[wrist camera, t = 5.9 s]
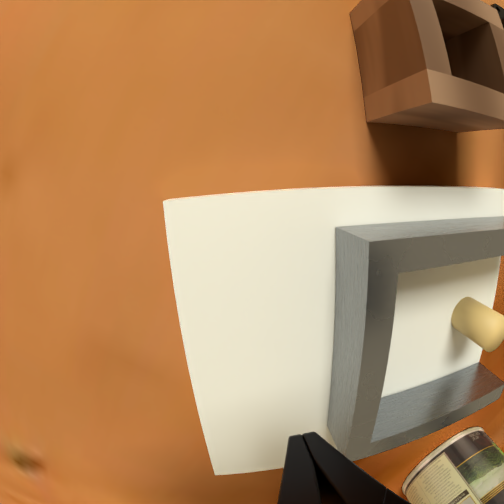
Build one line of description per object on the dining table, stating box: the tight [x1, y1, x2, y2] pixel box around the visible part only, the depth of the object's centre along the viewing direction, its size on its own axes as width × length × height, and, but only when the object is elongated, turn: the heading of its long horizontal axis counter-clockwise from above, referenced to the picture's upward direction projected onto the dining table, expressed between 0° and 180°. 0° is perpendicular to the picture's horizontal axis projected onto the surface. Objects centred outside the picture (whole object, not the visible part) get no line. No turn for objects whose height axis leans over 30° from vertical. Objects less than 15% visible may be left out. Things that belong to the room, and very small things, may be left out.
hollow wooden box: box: [350, 0, 504, 133], centre depth 10 cm, size 6×6×5 cm
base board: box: [163, 186, 504, 475], centre depth 13 cm, size 18×16×4 cm
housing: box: [327, 216, 504, 461], centre depth 13 cm, size 11×11×3 cm
